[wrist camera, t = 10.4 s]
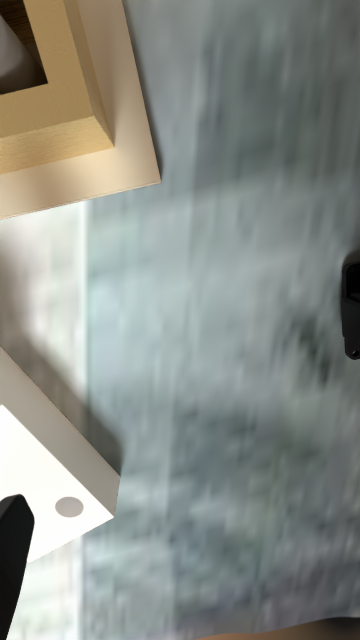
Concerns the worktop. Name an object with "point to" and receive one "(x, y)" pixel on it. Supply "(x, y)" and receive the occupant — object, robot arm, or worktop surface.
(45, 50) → the brass collar
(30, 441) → the bracket
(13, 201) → the post board
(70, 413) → the worktop surface
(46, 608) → the worktop surface
